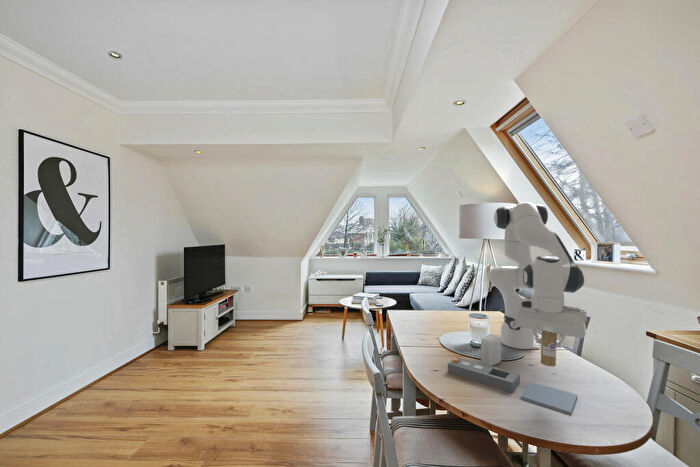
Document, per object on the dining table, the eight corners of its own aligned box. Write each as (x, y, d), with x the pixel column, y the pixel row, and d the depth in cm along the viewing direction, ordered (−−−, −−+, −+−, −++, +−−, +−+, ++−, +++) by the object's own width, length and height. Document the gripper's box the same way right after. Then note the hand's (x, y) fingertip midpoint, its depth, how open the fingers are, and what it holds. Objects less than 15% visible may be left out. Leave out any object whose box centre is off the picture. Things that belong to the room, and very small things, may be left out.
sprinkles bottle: (547, 367, 103) (549, 326, 103) (537, 361, 108) (538, 322, 107) (559, 366, 104) (560, 326, 104) (548, 361, 108) (549, 322, 108)
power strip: (457, 365, 132) (457, 355, 132) (519, 383, 116) (519, 371, 116) (447, 372, 125) (447, 361, 125) (512, 392, 109) (512, 380, 109)
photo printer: (493, 359, 138) (493, 331, 138) (502, 362, 135) (502, 333, 135) (479, 364, 133) (479, 335, 133) (488, 368, 129) (488, 338, 129)
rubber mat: (530, 383, 116) (530, 381, 116) (577, 397, 106) (577, 394, 106) (520, 398, 105) (520, 396, 105) (570, 414, 96) (570, 412, 96)
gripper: (588, 307, 101) (588, 350, 101) (518, 298, 115) (518, 336, 115) (585, 310, 96) (585, 355, 96) (513, 301, 110) (513, 340, 110)
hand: (548, 344), depth 106 cm, fingers closed on sprinkles bottle, 4 cm apart
